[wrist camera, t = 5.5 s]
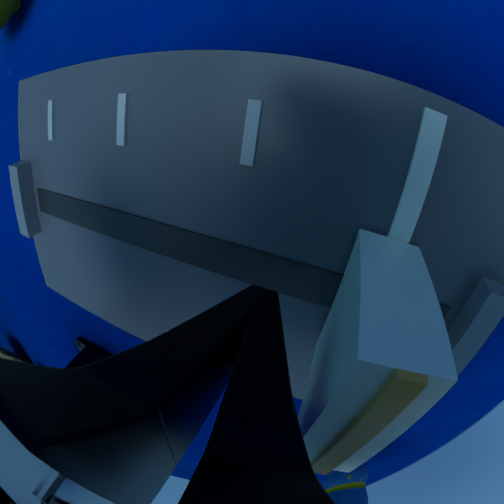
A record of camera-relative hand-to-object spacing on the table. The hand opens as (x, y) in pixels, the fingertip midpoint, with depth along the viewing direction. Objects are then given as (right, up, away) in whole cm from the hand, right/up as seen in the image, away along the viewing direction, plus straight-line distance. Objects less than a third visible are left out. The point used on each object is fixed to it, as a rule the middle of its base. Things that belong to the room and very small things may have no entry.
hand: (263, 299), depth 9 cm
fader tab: (+3, 0, +1) cm, 3 cm away
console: (-2, +3, +4) cm, 5 cm away
